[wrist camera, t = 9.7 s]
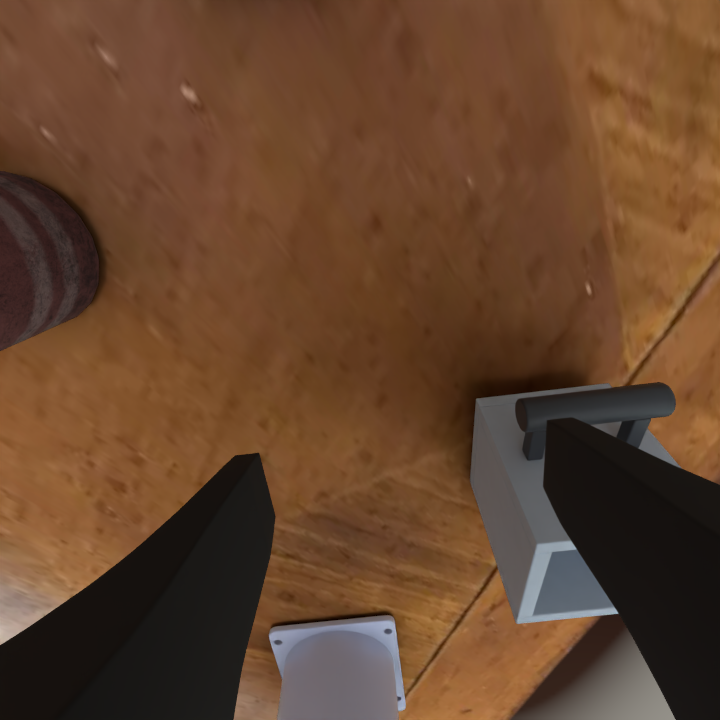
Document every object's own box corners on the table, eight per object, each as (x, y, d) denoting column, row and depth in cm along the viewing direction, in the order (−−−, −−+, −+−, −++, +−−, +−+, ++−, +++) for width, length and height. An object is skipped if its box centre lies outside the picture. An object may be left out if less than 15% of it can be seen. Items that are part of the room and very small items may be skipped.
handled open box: (666, 609, 16) (773, 466, 11) (515, 624, 16) (551, 490, 11) (581, 468, 22) (625, 330, 17) (469, 480, 22) (479, 347, 17)
